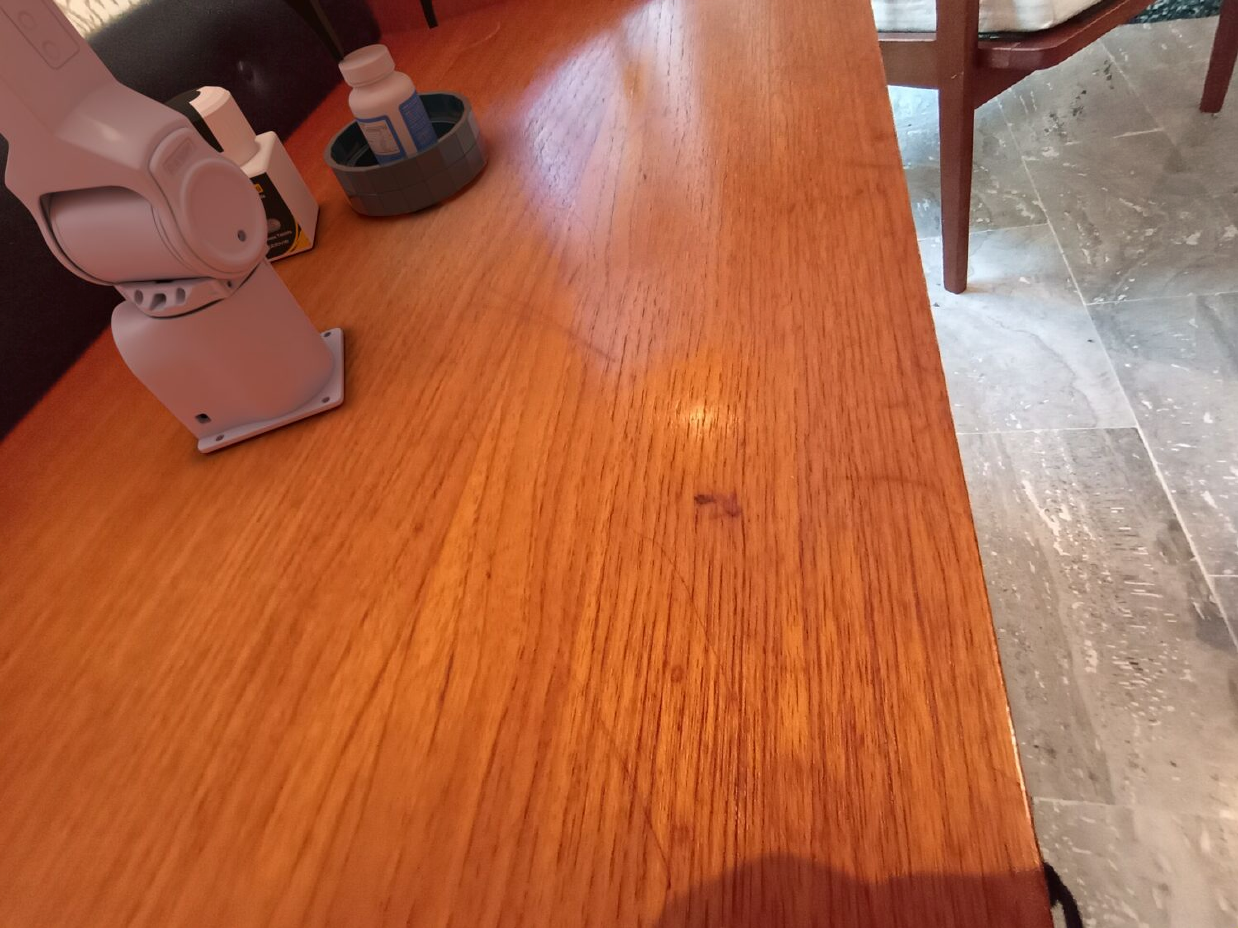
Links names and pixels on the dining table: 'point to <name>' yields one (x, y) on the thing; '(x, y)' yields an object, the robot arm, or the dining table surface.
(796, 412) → the dining table surface
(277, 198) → the medicine bottle
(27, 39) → the robot arm
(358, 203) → the bowl
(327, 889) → the dining table surface
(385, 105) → the pill bottle
